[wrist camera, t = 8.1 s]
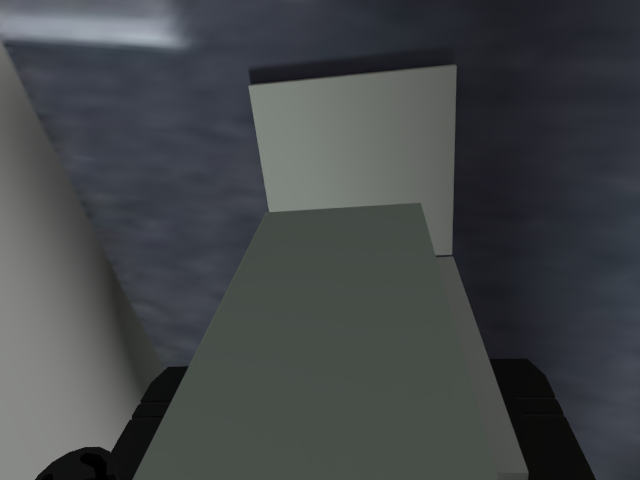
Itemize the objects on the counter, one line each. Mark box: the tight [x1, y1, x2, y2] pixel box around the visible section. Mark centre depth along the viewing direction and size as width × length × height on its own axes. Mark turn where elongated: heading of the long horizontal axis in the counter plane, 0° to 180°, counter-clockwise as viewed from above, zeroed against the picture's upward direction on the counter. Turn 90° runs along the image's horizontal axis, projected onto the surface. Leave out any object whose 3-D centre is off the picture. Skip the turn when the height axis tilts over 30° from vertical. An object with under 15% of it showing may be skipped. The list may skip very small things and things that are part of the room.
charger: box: [132, 203, 498, 480], centre depth 11 cm, size 5×4×10 cm
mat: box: [249, 64, 457, 255], centre depth 24 cm, size 10×10×1 cm
